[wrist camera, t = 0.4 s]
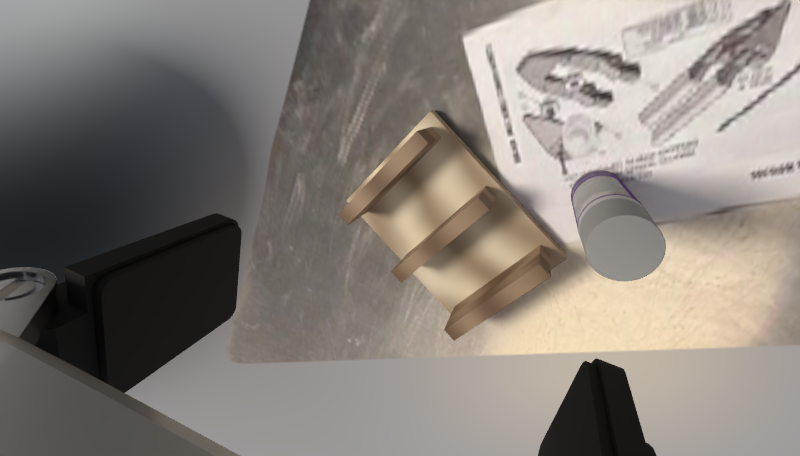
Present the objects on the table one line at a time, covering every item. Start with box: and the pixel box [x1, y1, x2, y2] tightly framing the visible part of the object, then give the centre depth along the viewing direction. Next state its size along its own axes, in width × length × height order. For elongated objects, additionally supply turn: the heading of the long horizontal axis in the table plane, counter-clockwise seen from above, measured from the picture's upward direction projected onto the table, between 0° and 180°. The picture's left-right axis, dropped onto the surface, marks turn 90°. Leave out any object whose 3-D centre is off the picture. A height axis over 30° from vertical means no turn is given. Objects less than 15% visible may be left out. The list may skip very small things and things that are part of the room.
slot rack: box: [338, 111, 566, 340], centre depth 41 cm, size 14×20×6 cm
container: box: [571, 171, 666, 281], centre depth 32 cm, size 5×5×15 cm
